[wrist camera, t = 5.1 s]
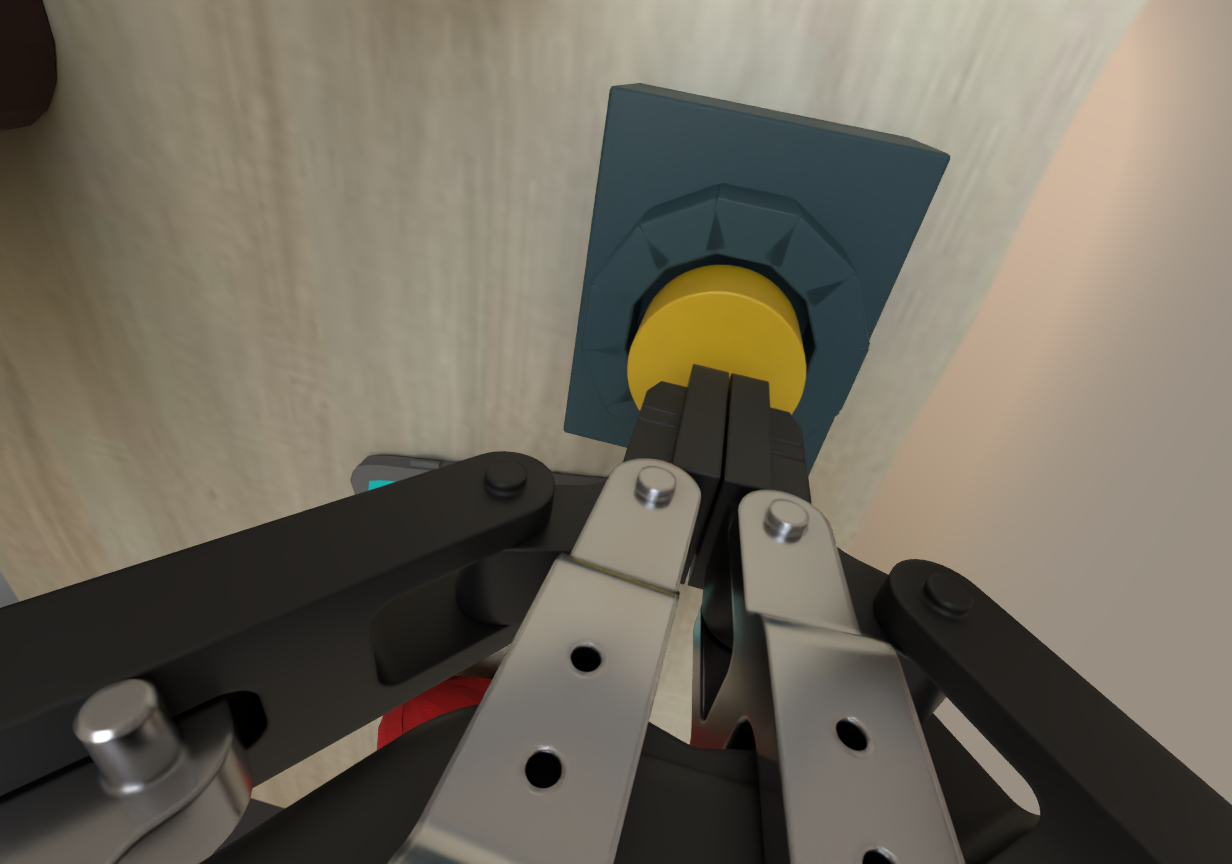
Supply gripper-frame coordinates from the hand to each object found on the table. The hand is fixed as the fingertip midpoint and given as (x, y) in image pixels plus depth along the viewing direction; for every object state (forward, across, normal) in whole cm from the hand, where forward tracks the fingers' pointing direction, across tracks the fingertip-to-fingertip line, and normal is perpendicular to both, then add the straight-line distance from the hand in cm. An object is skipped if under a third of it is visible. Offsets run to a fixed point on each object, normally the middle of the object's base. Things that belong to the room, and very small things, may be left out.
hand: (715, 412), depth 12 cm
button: (+4, 0, 0) cm, 4 cm away
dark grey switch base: (+9, 0, 0) cm, 9 cm away
